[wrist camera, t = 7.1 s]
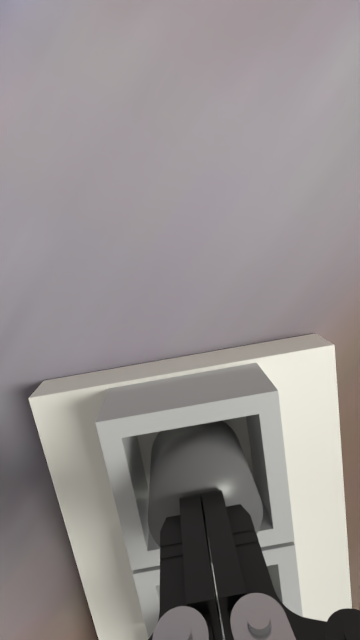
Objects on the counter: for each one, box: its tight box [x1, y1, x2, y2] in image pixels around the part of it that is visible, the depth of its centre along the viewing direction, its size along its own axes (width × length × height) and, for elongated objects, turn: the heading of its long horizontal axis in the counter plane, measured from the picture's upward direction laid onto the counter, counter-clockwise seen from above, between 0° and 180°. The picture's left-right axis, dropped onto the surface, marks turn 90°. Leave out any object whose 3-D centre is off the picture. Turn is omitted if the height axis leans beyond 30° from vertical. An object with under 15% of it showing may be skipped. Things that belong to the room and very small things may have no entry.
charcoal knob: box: [148, 420, 263, 563], centre depth 14 cm, size 4×4×4 cm
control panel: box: [28, 333, 352, 640], centre depth 17 cm, size 14×21×5 cm, turn 10°
